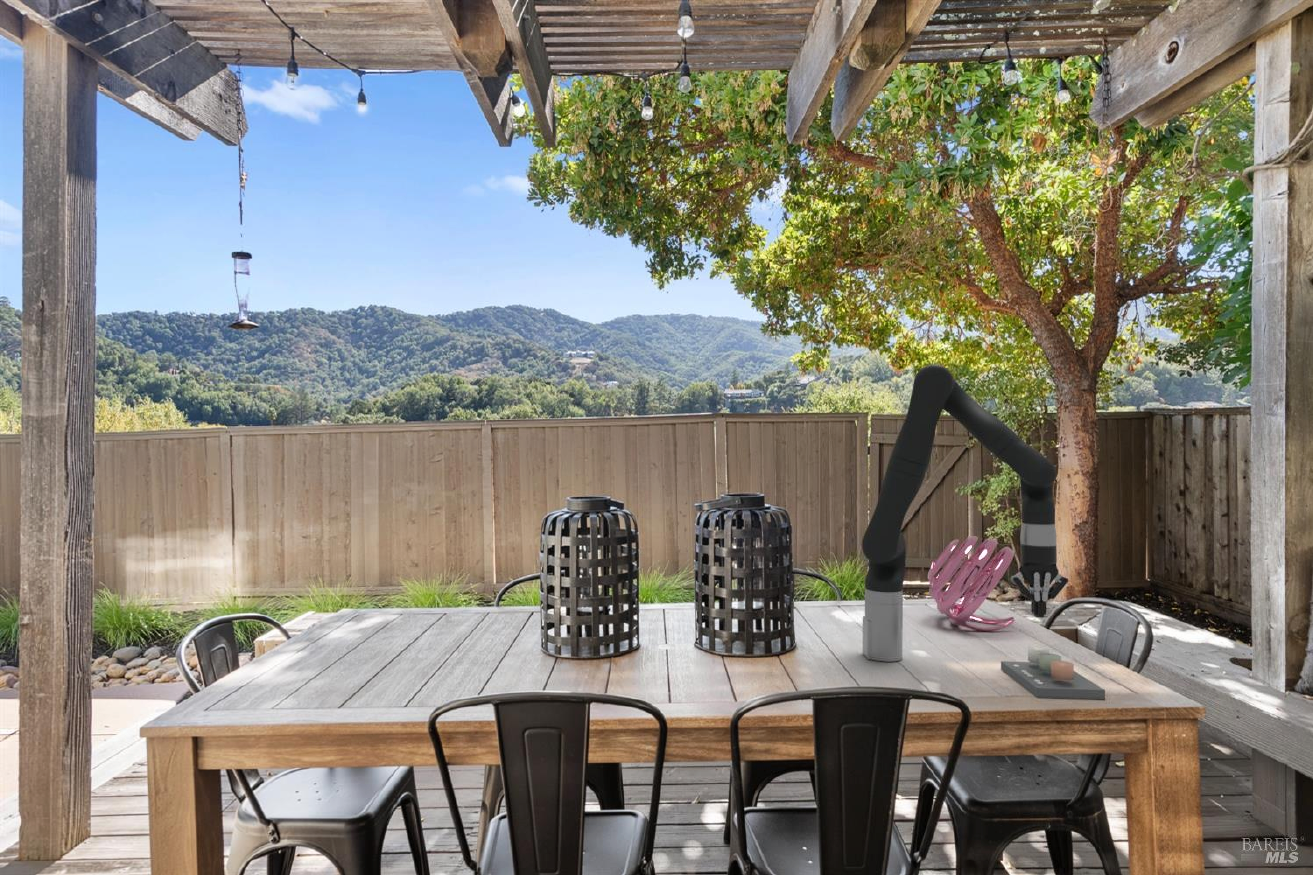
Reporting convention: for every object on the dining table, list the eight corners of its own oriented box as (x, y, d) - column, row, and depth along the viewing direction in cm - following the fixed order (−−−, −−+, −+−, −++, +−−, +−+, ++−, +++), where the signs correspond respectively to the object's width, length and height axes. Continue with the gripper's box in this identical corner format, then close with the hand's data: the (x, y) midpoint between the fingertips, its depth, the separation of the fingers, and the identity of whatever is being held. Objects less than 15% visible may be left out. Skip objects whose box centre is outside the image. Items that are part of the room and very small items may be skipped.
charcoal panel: (1037, 697, 161) (1037, 687, 161) (1000, 669, 181) (1001, 660, 181) (1104, 699, 160) (1105, 689, 160) (1061, 671, 180) (1061, 661, 180)
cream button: (1032, 663, 175) (1032, 650, 175) (1024, 658, 179) (1024, 645, 179) (1052, 664, 175) (1052, 651, 175) (1043, 658, 179) (1043, 646, 179)
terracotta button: (1056, 679, 163) (1056, 666, 163) (1047, 673, 167) (1047, 660, 167) (1077, 680, 163) (1077, 666, 163) (1067, 674, 167) (1067, 660, 167)
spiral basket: (1054, 560, 225) (972, 507, 234) (1045, 599, 202) (955, 537, 211) (997, 624, 238) (922, 571, 247) (983, 666, 215) (901, 606, 224)
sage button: (1044, 671, 169) (1044, 658, 169) (1035, 665, 173) (1035, 652, 173) (1064, 672, 169) (1064, 658, 169) (1055, 666, 173) (1055, 653, 173)
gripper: (1015, 544, 174) (1016, 619, 174) (1075, 544, 173) (1076, 620, 173) (1003, 540, 181) (1003, 612, 181) (1060, 540, 180) (1060, 613, 180)
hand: (1039, 616), depth 177 cm, fingers closed
